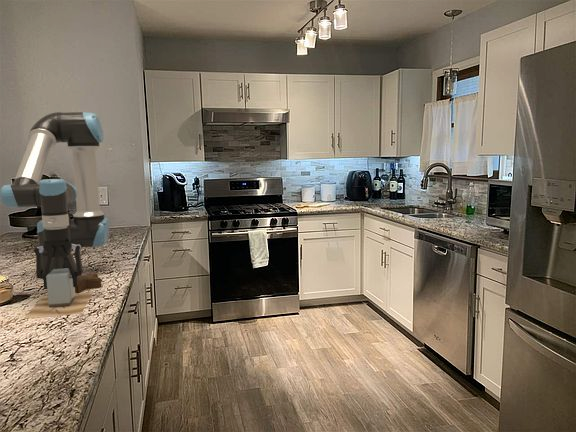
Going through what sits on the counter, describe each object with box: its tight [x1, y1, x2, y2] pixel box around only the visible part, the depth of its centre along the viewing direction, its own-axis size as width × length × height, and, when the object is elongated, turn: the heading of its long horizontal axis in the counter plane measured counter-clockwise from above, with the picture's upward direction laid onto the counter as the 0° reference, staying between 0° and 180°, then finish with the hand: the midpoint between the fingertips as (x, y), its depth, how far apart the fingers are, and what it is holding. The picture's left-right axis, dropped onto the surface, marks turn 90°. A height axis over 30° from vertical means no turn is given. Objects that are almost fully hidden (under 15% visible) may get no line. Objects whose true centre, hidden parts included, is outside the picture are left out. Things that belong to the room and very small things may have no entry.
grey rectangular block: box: [46, 268, 75, 307], centre depth 149 cm, size 9×6×10 cm, turn 14°
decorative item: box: [75, 272, 103, 294], centre depth 167 cm, size 16×6×15 cm
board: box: [23, 291, 94, 320], centre depth 147 cm, size 22×16×1 cm
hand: (62, 297), depth 149 cm, fingers closed on grey rectangular block, 6 cm apart
